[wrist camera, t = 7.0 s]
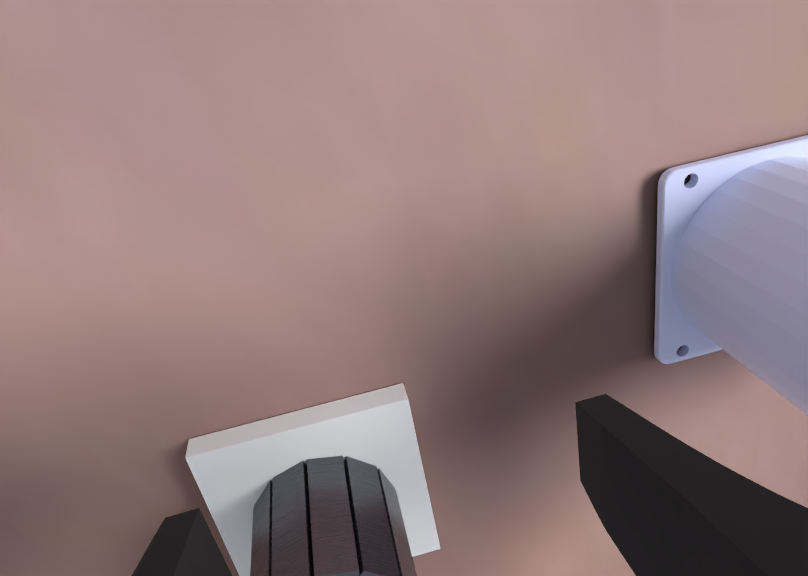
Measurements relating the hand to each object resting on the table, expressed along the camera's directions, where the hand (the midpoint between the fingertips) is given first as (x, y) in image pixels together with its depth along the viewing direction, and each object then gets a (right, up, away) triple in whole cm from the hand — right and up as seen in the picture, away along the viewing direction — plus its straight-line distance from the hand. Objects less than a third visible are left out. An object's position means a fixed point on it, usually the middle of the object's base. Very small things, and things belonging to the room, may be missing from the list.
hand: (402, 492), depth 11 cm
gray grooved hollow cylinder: (-3, -5, +12) cm, 13 cm away
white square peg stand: (-3, -4, +12) cm, 14 cm away
